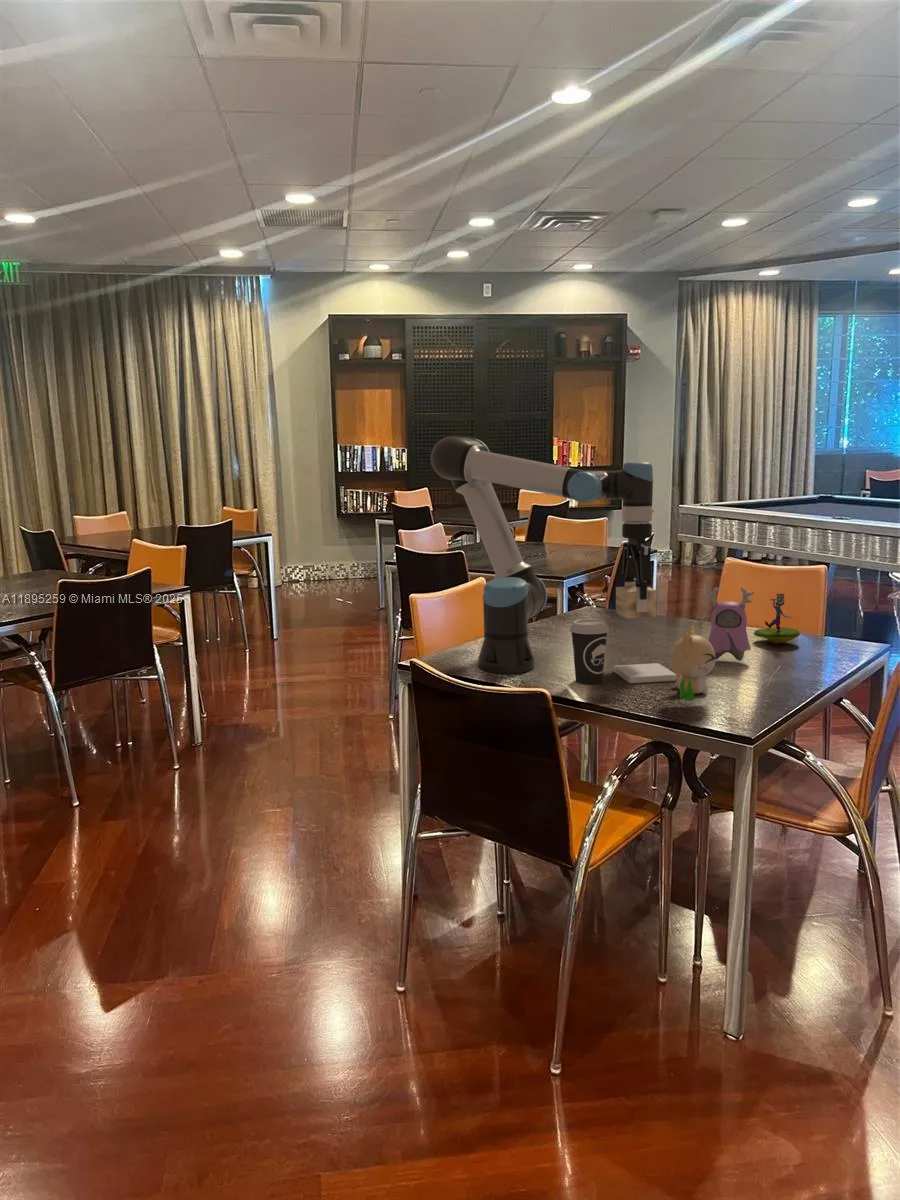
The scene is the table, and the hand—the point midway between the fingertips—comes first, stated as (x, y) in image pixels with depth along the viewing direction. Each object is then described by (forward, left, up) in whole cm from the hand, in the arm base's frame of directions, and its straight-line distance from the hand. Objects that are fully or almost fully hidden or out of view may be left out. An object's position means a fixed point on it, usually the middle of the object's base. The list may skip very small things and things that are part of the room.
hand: (635, 608), depth 216 cm
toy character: (+26, -1, -15) cm, 30 cm away
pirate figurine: (+49, +16, -15) cm, 54 cm away
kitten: (+3, -29, -15) cm, 33 cm away
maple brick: (0, 0, -2) cm, 2 cm away
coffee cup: (-17, -14, -15) cm, 27 cm away
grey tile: (-2, -12, -15) cm, 19 cm away
